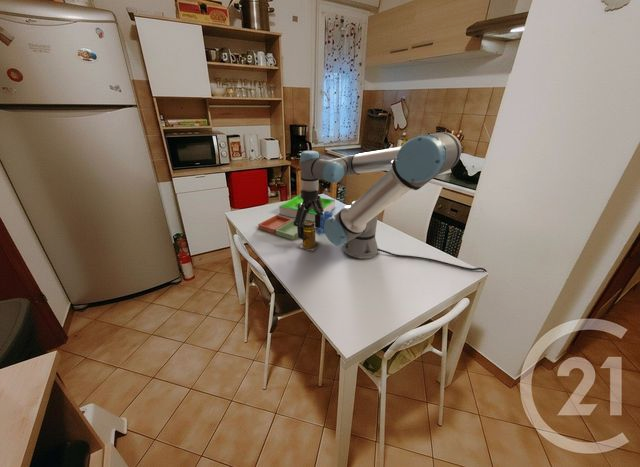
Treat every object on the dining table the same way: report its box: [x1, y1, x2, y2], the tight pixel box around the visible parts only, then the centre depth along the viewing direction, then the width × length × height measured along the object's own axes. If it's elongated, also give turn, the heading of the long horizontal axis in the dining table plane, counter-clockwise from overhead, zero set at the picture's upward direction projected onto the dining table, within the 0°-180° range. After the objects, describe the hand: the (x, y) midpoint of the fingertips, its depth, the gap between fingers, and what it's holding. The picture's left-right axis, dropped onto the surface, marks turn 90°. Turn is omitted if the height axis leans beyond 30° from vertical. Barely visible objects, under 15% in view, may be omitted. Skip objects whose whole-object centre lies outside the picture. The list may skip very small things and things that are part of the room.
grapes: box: [315, 211, 334, 235], centre depth 134 cm, size 12×7×12 cm, turn 129°
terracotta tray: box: [257, 214, 294, 235], centre depth 142 cm, size 11×15×2 cm
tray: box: [278, 193, 336, 223], centre depth 161 cm, size 25×25×5 cm
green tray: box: [275, 219, 298, 241], centre depth 137 cm, size 11×15×2 cm
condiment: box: [299, 220, 322, 252], centre depth 122 cm, size 7×8×12 cm
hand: (309, 232), depth 122 cm, fingers open, 13 cm apart
